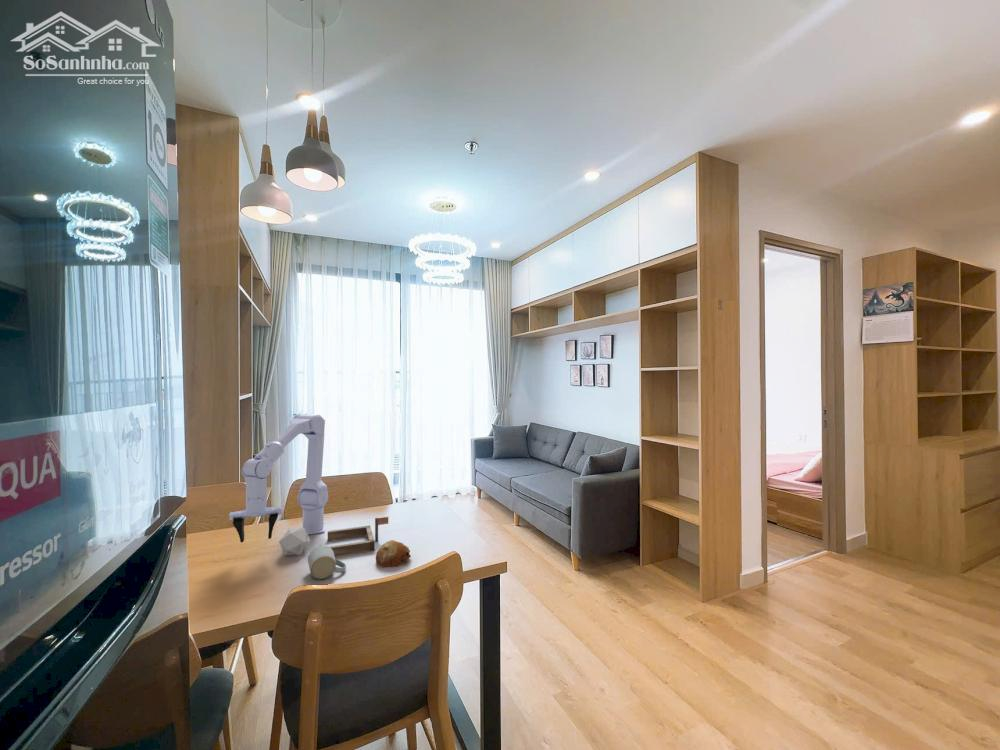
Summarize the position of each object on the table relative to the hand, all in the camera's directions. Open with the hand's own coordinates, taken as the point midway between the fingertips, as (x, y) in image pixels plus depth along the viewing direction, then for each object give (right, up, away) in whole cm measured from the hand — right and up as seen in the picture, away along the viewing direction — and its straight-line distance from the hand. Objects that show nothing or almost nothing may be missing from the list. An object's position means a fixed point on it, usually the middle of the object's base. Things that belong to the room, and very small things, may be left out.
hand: (256, 539), depth 133 cm
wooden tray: (+29, -6, +12) cm, 32 cm away
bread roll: (+44, -7, -1) cm, 45 cm away
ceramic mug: (+26, -7, -9) cm, 29 cm away
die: (+10, -6, +4) cm, 13 cm away
